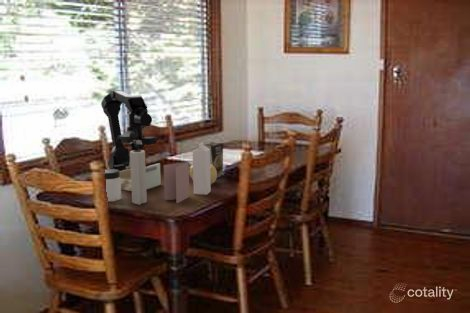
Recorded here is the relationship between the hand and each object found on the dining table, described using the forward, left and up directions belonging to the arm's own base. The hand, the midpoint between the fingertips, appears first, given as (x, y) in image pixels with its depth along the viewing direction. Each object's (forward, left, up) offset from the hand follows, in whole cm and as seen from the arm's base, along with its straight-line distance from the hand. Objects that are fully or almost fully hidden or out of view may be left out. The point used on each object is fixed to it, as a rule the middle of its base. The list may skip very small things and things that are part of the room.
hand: (137, 158), depth 266 cm
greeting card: (+31, -11, -13) cm, 35 cm away
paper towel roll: (+18, -22, -13) cm, 31 cm away
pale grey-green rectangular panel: (+7, 0, -13) cm, 15 cm away
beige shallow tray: (-1, 0, -13) cm, 13 cm away
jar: (+4, -23, -13) cm, 27 cm away
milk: (+32, +4, -13) cm, 35 cm away
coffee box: (+19, +34, -13) cm, 41 cm away
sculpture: (+24, +18, -13) cm, 33 cm away
